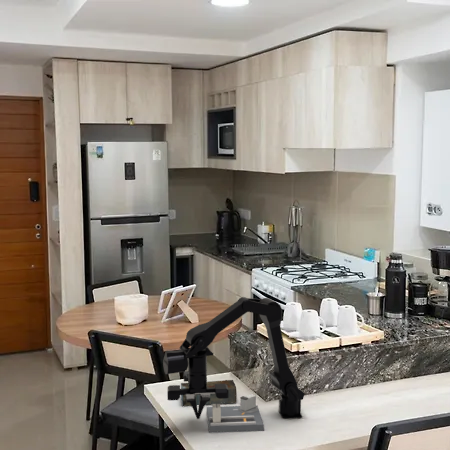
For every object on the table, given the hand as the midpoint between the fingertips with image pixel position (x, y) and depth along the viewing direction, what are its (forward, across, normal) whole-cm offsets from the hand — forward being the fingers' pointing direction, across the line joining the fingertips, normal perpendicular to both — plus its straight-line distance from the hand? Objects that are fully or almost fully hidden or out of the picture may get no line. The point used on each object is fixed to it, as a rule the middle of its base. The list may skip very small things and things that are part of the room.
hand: (198, 418), depth 195 cm
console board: (+4, -12, -4) cm, 13 cm away
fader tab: (+1, -6, 0) cm, 6 cm away
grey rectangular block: (+1, -17, -9) cm, 19 cm away
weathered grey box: (+4, -4, -22) cm, 23 cm away
